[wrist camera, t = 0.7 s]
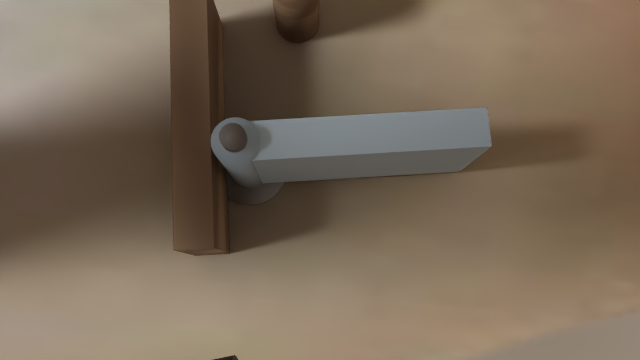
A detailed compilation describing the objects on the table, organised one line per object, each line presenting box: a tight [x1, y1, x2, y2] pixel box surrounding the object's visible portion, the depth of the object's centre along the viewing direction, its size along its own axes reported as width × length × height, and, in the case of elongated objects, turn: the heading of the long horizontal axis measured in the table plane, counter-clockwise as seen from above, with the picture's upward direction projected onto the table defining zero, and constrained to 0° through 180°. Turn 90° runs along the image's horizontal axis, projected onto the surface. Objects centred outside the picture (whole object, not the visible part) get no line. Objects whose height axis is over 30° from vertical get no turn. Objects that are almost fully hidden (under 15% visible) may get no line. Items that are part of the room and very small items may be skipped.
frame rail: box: [169, 0, 284, 256], centre depth 35 cm, size 6×16×9 cm, turn 4°
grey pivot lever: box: [211, 107, 492, 188], centre depth 35 cm, size 15×3×8 cm, turn 94°
